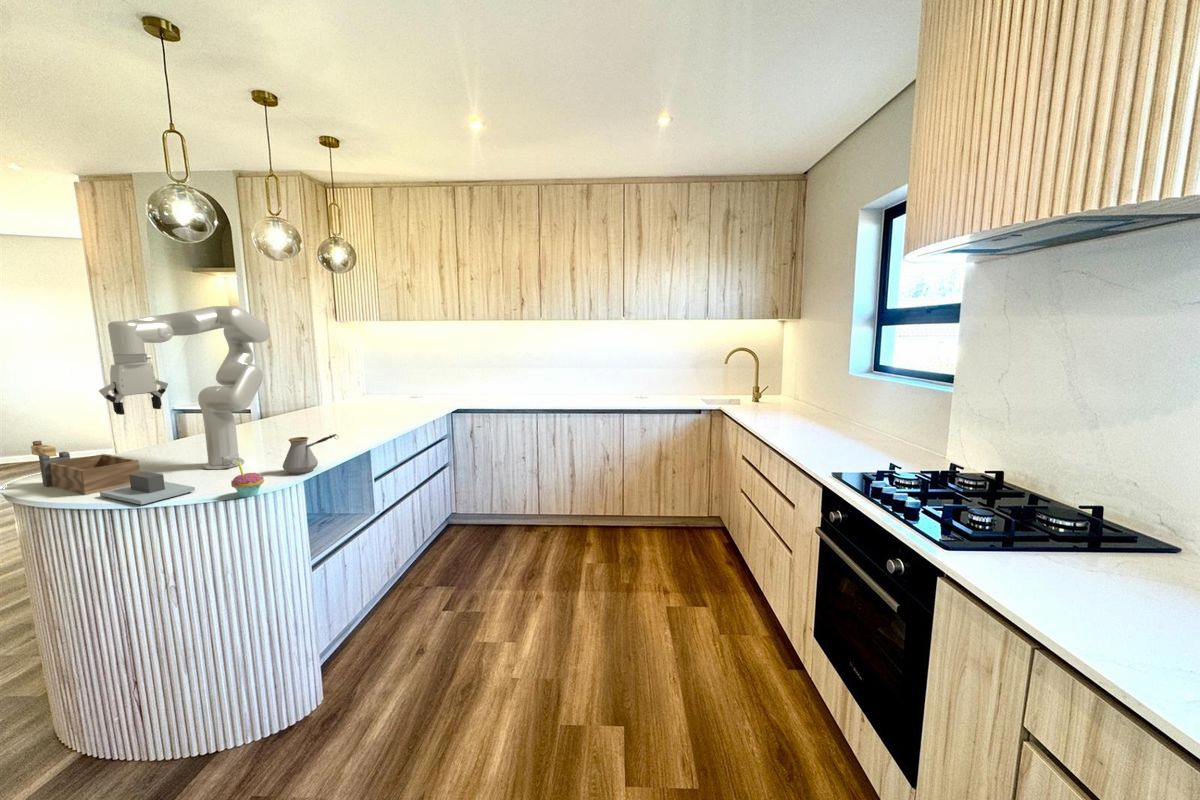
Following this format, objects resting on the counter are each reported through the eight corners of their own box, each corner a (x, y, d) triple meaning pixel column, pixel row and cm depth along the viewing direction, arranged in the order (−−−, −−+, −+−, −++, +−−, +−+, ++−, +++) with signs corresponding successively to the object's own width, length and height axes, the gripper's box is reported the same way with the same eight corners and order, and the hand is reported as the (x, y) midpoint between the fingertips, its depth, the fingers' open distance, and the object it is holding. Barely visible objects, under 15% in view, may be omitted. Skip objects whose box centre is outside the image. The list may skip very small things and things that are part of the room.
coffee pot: (275, 475, 173) (272, 435, 171) (297, 466, 185) (294, 429, 183) (329, 477, 172) (326, 437, 170) (349, 468, 183) (346, 431, 181)
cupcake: (239, 501, 147) (235, 463, 145) (227, 495, 151) (223, 459, 149) (269, 493, 154) (266, 457, 152) (258, 488, 158) (254, 454, 157)
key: (56, 455, 162) (54, 442, 161) (45, 457, 160) (43, 444, 159) (42, 452, 166) (40, 440, 165) (32, 454, 164) (30, 441, 163)
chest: (141, 482, 164) (137, 453, 162) (80, 496, 150) (76, 463, 148) (103, 474, 173) (99, 446, 172) (43, 486, 159) (38, 455, 158)
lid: (195, 493, 154) (192, 472, 153) (142, 507, 141) (138, 484, 140) (155, 485, 162) (152, 465, 161) (100, 498, 149) (97, 476, 148)
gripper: (155, 357, 161) (163, 406, 164) (87, 361, 145) (97, 415, 148) (169, 358, 158) (177, 407, 161) (101, 362, 142) (111, 417, 145)
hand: (139, 411), depth 154 cm, fingers open, 9 cm apart
